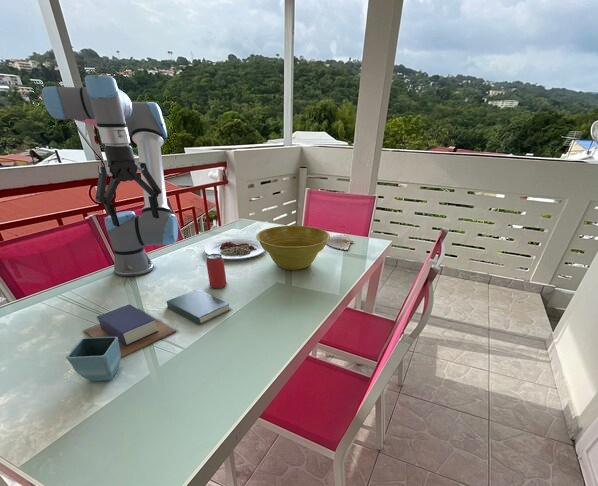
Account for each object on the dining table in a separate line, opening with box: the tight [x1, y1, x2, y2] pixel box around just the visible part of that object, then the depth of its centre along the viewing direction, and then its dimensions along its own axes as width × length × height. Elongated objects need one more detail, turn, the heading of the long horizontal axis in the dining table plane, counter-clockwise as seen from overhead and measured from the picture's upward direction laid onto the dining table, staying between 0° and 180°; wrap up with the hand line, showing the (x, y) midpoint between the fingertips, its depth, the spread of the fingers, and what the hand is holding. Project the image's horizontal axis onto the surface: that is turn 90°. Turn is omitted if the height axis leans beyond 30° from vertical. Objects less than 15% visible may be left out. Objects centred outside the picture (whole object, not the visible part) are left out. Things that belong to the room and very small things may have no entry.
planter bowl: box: [255, 225, 331, 271], centre depth 147 cm, size 32×32×13 cm
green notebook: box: [165, 288, 231, 325], centre depth 115 cm, size 18×13×2 cm
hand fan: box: [326, 233, 354, 251], centre depth 178 cm, size 26×1×15 cm
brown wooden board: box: [83, 309, 177, 359], centre depth 102 cm, size 22×18×1 cm
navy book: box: [96, 303, 159, 346], centre depth 101 cm, size 15×10×4 cm
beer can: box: [205, 254, 228, 289], centre depth 128 cm, size 7×7×12 cm
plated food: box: [204, 238, 266, 261], centre depth 163 cm, size 30×30×3 cm
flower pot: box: [65, 337, 122, 382], centre depth 83 cm, size 9×9×9 cm
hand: (137, 221), depth 107 cm, fingers open, 13 cm apart
